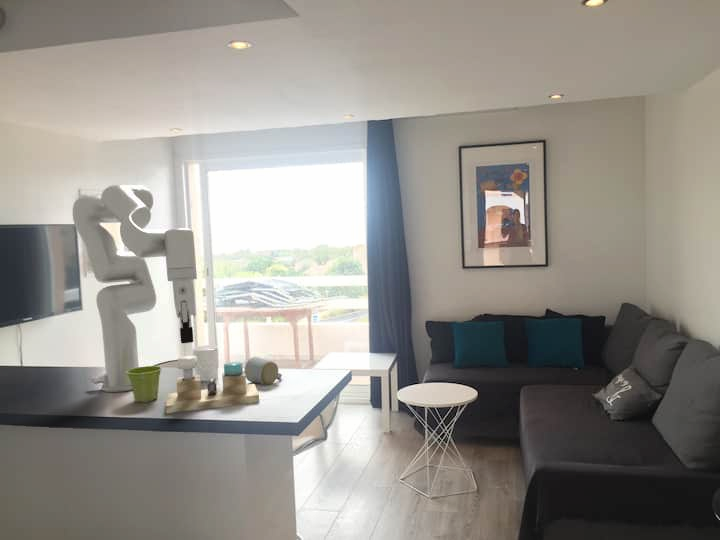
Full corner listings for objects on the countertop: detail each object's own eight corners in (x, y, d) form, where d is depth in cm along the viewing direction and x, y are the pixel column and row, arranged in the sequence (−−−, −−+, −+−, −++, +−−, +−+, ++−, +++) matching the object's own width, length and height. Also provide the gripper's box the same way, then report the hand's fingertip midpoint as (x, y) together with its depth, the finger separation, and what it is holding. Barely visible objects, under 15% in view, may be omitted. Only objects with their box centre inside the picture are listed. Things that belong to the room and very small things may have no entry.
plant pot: (128, 398, 166) (125, 368, 166) (162, 393, 170) (160, 364, 169) (129, 406, 158) (126, 375, 157) (165, 401, 162) (163, 370, 161)
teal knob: (225, 394, 158) (224, 367, 157) (224, 389, 162) (223, 363, 162) (244, 391, 159) (242, 365, 158) (243, 387, 164) (241, 361, 163)
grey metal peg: (208, 396, 158) (207, 381, 157) (207, 393, 160) (206, 379, 160) (217, 394, 158) (216, 380, 158) (216, 392, 161) (215, 378, 160)
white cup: (216, 381, 181) (214, 349, 180) (191, 382, 181) (189, 350, 180) (222, 375, 189) (220, 344, 188) (198, 376, 189) (196, 345, 188)
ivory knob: (179, 388, 154) (177, 360, 154) (179, 383, 159) (177, 356, 158) (198, 386, 155) (196, 358, 155) (198, 381, 160) (196, 355, 160)
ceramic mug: (263, 387, 171) (262, 362, 171) (244, 384, 176) (243, 359, 176) (288, 379, 180) (287, 355, 179) (269, 376, 184) (268, 352, 184)
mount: (166, 413, 150) (164, 387, 150) (168, 400, 162) (166, 376, 161) (259, 402, 157) (257, 376, 156) (254, 390, 168) (253, 366, 168)
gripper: (196, 274, 149) (202, 345, 150) (196, 272, 163) (201, 336, 164) (165, 277, 147) (171, 348, 148) (168, 274, 161) (173, 339, 162)
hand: (187, 342), depth 156 cm, fingers closed
